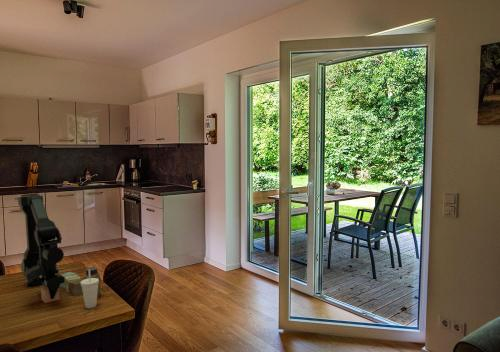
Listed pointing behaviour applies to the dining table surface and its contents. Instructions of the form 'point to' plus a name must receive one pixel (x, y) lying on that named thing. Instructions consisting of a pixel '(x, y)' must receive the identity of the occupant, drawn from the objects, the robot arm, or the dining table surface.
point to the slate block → (66, 276)
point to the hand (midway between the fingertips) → (50, 296)
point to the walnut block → (75, 287)
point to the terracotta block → (46, 295)
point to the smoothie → (90, 291)
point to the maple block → (70, 278)
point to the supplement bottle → (93, 275)
